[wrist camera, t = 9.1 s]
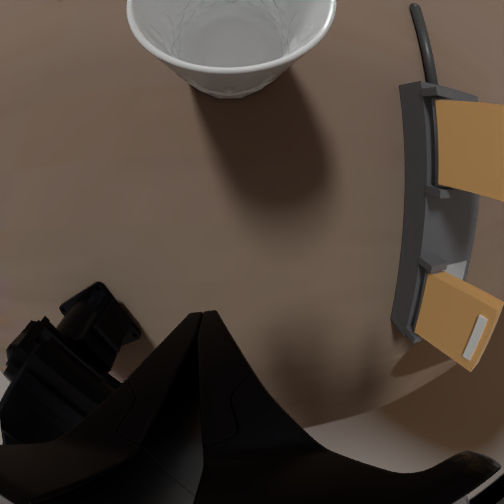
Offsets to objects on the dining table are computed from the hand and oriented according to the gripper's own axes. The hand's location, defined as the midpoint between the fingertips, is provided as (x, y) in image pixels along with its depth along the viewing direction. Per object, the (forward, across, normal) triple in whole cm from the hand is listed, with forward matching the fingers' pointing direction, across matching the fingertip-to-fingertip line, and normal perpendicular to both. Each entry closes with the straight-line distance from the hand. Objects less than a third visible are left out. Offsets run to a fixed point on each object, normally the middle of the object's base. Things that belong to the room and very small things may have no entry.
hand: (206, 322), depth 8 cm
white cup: (+13, -2, -11) cm, 17 cm away
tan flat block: (+8, -16, -5) cm, 19 cm away
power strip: (+12, -19, -3) cm, 23 cm away
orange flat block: (+8, -16, +8) cm, 20 cm away
